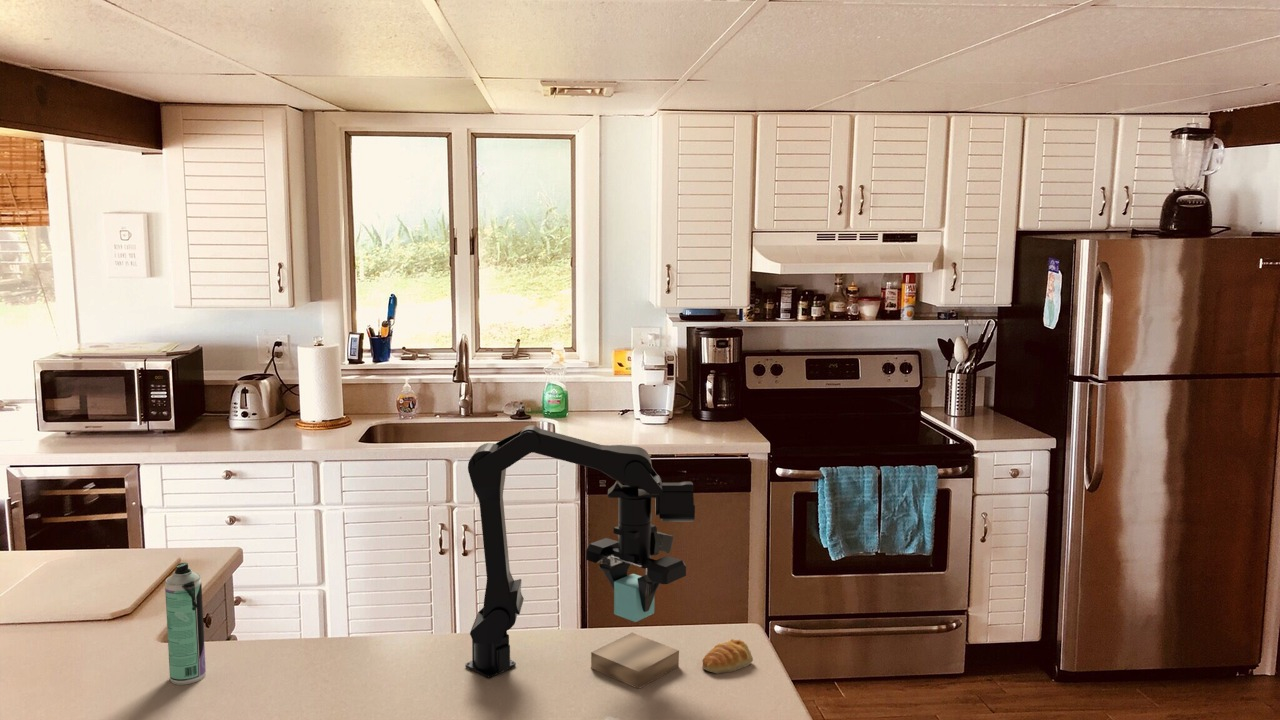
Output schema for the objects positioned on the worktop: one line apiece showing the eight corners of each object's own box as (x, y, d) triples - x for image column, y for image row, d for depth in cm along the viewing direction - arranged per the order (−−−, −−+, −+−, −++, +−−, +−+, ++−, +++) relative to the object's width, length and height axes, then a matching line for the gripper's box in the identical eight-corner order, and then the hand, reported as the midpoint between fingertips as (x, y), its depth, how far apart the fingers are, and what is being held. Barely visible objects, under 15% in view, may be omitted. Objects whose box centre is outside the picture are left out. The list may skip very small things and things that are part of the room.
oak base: (591, 668, 163) (591, 652, 162) (631, 647, 171) (632, 632, 171) (638, 688, 156) (638, 671, 155) (678, 666, 164) (679, 650, 163)
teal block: (614, 614, 161) (614, 581, 160) (632, 605, 165) (633, 573, 164) (635, 622, 158) (635, 588, 157) (654, 613, 162) (654, 580, 161)
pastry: (720, 681, 159) (720, 660, 159) (692, 667, 164) (692, 647, 164) (755, 664, 166) (756, 644, 165) (727, 652, 171) (728, 632, 170)
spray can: (213, 672, 159) (207, 561, 156) (188, 687, 153) (182, 571, 151) (188, 667, 160) (182, 556, 158) (162, 681, 155) (156, 567, 152)
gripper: (706, 521, 159) (704, 607, 161) (625, 500, 171) (625, 581, 174) (665, 536, 151) (664, 627, 153) (583, 514, 163) (583, 598, 165)
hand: (634, 607), depth 161 cm, fingers closed on teal block, 5 cm apart
